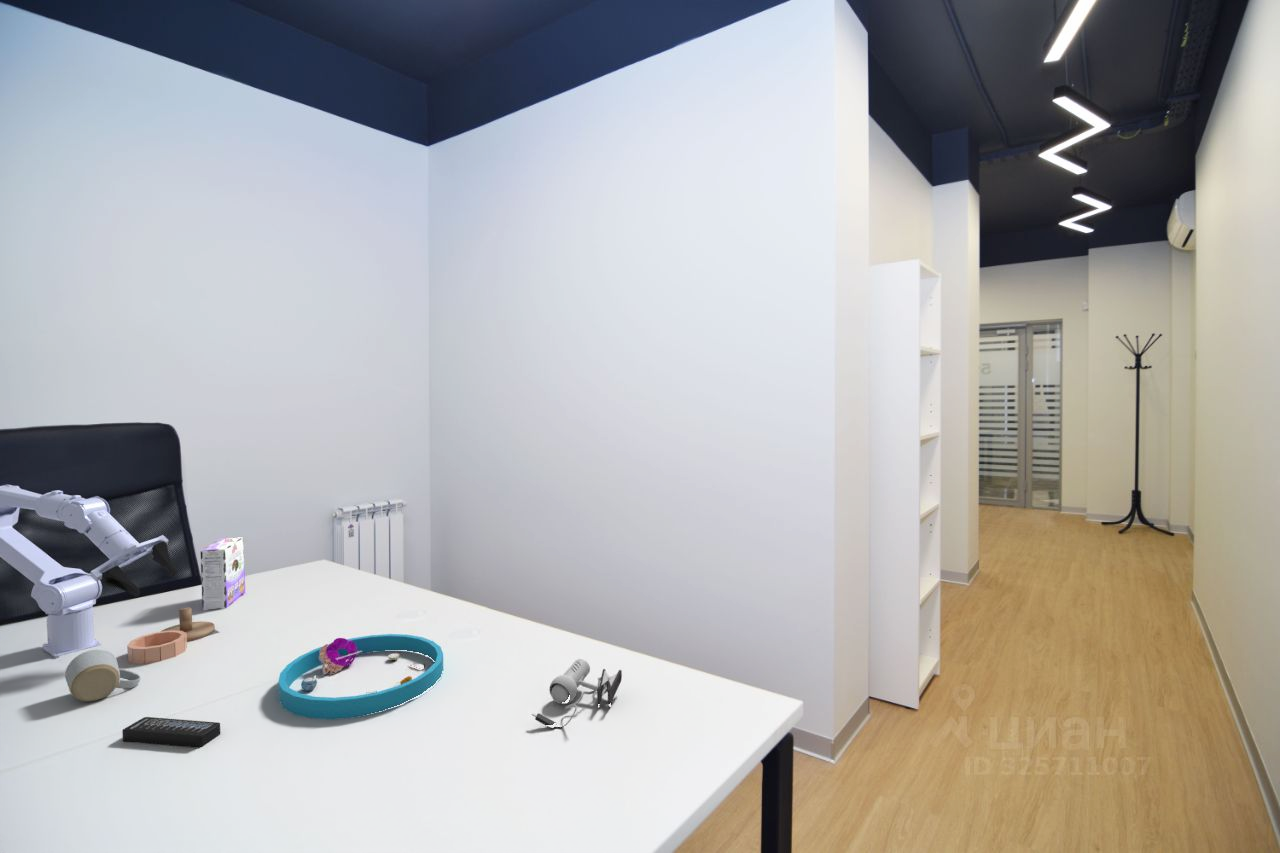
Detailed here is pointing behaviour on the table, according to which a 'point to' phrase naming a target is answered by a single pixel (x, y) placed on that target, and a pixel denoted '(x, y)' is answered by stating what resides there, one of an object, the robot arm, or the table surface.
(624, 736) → the table surface
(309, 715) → the teal ring
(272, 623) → the table surface
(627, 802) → the table surface
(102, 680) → the ceramic mug
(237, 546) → the candy box
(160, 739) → the multiport hub
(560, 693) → the clip-on lamp
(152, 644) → the bowl
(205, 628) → the lid
